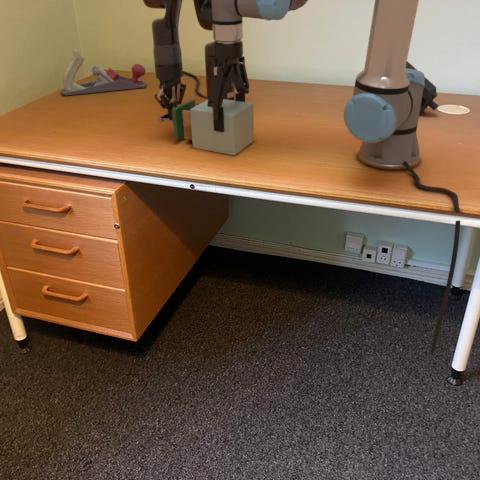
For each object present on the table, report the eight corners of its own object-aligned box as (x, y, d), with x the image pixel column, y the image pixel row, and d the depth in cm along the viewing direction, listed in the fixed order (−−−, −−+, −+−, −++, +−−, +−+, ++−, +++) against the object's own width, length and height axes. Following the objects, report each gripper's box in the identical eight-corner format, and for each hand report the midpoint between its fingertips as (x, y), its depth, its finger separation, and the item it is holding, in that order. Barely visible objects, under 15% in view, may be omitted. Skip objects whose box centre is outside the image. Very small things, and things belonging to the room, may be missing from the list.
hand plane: (62, 90, 197) (53, 48, 189) (145, 82, 205) (140, 41, 197) (62, 96, 191) (54, 53, 184) (148, 87, 199) (143, 45, 191)
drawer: (156, 136, 153) (153, 106, 148) (176, 125, 161) (174, 96, 156) (210, 146, 146) (208, 115, 141) (228, 134, 154) (227, 103, 149)
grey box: (192, 147, 148) (189, 109, 142) (213, 134, 157) (211, 97, 151) (234, 155, 143) (233, 115, 137) (253, 141, 151) (253, 103, 146)
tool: (376, 92, 179) (403, 55, 168) (419, 129, 175) (449, 94, 164) (367, 96, 175) (394, 59, 164) (411, 135, 171) (441, 99, 160)
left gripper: (170, 53, 151) (175, 112, 161) (142, 64, 142) (149, 126, 151) (192, 55, 148) (196, 116, 157) (165, 66, 138) (171, 130, 148)
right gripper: (236, 30, 144) (238, 109, 156) (189, 49, 127) (195, 136, 138) (261, 33, 141) (261, 112, 153) (217, 52, 124) (220, 140, 135)
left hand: (173, 121), depth 154 cm, fingers closed
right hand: (230, 123), depth 146 cm, fingers closed on grey box, 12 cm apart
